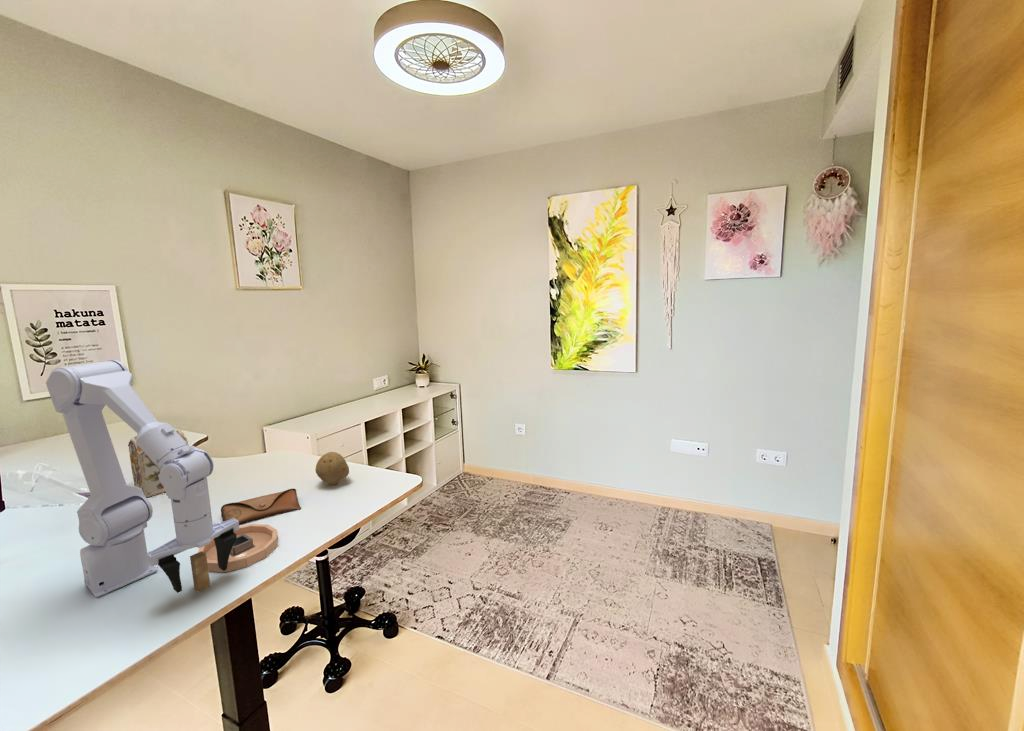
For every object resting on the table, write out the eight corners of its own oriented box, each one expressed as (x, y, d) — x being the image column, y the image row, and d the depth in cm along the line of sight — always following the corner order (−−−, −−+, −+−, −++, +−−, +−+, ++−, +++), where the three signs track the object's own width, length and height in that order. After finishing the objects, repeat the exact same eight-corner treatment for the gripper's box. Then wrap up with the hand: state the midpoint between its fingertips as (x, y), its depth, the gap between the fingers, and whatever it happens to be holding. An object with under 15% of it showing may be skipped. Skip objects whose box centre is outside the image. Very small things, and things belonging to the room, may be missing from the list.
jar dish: (217, 581, 85) (216, 572, 85) (186, 555, 93) (185, 547, 93) (290, 545, 97) (289, 537, 97) (257, 525, 106) (256, 518, 105)
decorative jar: (144, 499, 118) (134, 437, 115) (133, 487, 125) (124, 429, 122) (195, 484, 128) (187, 427, 125) (182, 474, 135) (175, 419, 132)
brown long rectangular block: (198, 592, 82) (194, 559, 81) (194, 588, 83) (189, 556, 82) (210, 586, 84) (206, 554, 82) (205, 582, 85) (201, 551, 84)
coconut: (312, 482, 129) (309, 451, 127) (341, 474, 135) (339, 444, 133) (322, 493, 122) (319, 460, 121) (352, 484, 128) (350, 453, 127)
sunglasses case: (223, 530, 103) (219, 503, 105) (223, 533, 108) (219, 506, 110) (303, 508, 114) (299, 483, 116) (299, 511, 119) (295, 488, 121)
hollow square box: (233, 557, 92) (232, 549, 92) (223, 549, 95) (222, 542, 94) (255, 546, 96) (254, 539, 96) (245, 540, 98) (244, 533, 98)
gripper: (153, 539, 73) (163, 609, 75) (243, 505, 84) (250, 566, 87) (138, 527, 76) (149, 594, 79) (227, 495, 88) (234, 554, 91)
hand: (201, 578), depth 83 cm, fingers open, 7 cm apart
